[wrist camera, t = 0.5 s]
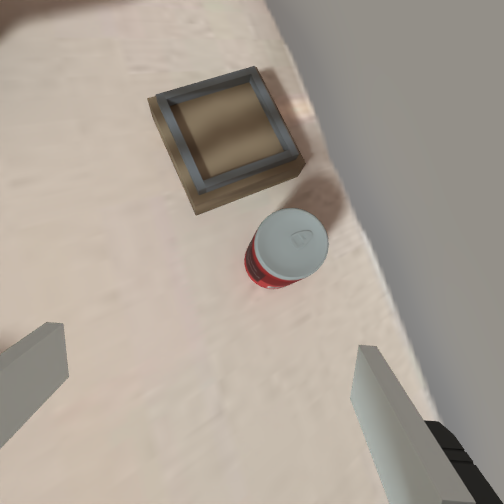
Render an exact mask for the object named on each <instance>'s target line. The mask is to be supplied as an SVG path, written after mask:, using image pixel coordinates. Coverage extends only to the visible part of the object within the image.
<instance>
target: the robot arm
mask: <svg viewBox="0 0 504 504" xmlns="http://www.w3.org/2000/svg"><path fill="white" fill-rule="evenodd" d="M68 377H69V373H68V364H67V354H66V344H65V335H64V325H63V323H50V322H46V323H45V324H43V325H42V326H40V327H39V328H37V329H36V330H35V331H33V332H32V333H30V334H29V335H27V336H26V337H24V338H23V339H22V340H20V341H19V342H17V343H16V344H14V345H13V346H11V347H10V348H9V349H7V350H6V351H4V352H3V353H1V354H0V449H1V448H2V447H3V445H4V444H5V443H6V442H7V441H8V440H9V439H10V438H11V437H12V436H13V435H14V434H15V433H16V432H17V431H18V430H19V429H20V428H21V427H22V426H23V424H24V423H25V422H26V421H27V420H28V419H29V418H30V417H31V416H32V415H33V414H34V413H35V412H36V411H37V410H38V409H39V408H40V407H41V406H42V405H43V403H44V402H45V401H46V400H47V399H48V398H49V397H50V396H51V395H52V394H53V393H54V392H55V391H56V390H57V389H58V388H59V387H60V386H61V385H62V384H63V382H64V381H65V380H66V379H67V378H68ZM350 399H351V402H352V405H353V407H354V410H355V413H356V415H357V418H358V421H359V423H360V426H361V429H362V431H363V434H364V437H365V439H366V442H367V445H368V447H369V450H370V453H371V455H372V458H373V461H374V463H375V466H376V469H377V472H378V474H379V477H380V480H381V482H382V485H383V488H384V490H385V493H386V496H387V498H388V501H389V504H503V503H502V501H501V500H500V499H499V497H498V496H497V494H496V493H495V492H494V490H493V489H492V487H491V486H490V484H489V483H488V482H487V481H486V479H485V478H484V476H483V475H482V473H481V472H480V471H479V469H478V468H477V466H476V465H474V464H473V461H472V459H471V458H470V457H469V455H468V454H467V452H465V451H464V448H463V447H462V445H461V444H460V443H459V441H458V440H457V438H456V437H455V436H454V435H453V434H452V433H451V432H450V431H449V430H448V429H447V428H445V427H444V426H443V425H442V424H441V423H440V422H437V421H425V420H423V419H422V417H421V415H420V414H419V412H418V411H417V409H416V408H415V406H414V404H413V403H412V401H411V400H410V398H409V397H408V395H407V393H406V392H405V390H404V389H403V387H402V386H401V384H400V382H399V381H398V379H397V378H396V376H395V375H394V373H393V371H392V370H391V368H390V367H389V365H388V364H387V362H386V360H385V359H384V357H383V356H382V354H381V353H380V351H379V349H378V348H377V346H366V345H359V347H358V353H357V359H356V365H355V372H354V378H353V384H352V390H351V396H350Z"/></svg>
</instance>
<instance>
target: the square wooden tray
mask: <svg viewBox="0 0 504 504" xmlns="http://www.w3.org/2000/svg"><path fill="white" fill-rule="evenodd" d="M147 99H148V103H149V106H150V110H151V113H152V117H153V119H154V122H155V124H156V126H157V128H158V131H159V133H160V135H161V138H162V140H163V142H164V144H165V147H166V149H167V151H168V153H169V156H170V158H171V160H172V162H173V165H174V167H175V169H176V172H177V174H178V176H179V178H180V181H181V183H182V185H183V187H184V190H185V192H186V194H187V196H188V199H189V201H190V203H191V205H192V208H193V210H194V212H195V215H199V214H201V213H204V212H207V211H209V210H212V209H214V208H217V207H220V206H222V205H225V204H227V203H230V202H233V201H235V200H238V199H240V198H243V197H246V196H248V195H251V194H253V193H256V192H259V191H261V190H264V189H267V188H269V187H272V186H274V185H277V184H280V183H282V182H285V181H287V180H290V179H293V178H295V177H298V175H299V173H300V172H301V170H302V169H303V167H304V165H305V164H306V163H305V161H304V159H303V157H302V155H301V153H300V151H299V149H298V147H297V145H296V144H295V142H294V140H293V138H292V136H291V134H290V132H289V130H288V128H287V126H286V124H285V122H284V120H283V118H282V116H281V114H280V112H279V110H278V108H277V106H276V104H275V102H274V100H273V98H272V96H271V94H270V93H269V91H268V89H267V87H266V85H265V83H264V81H263V79H262V77H261V75H260V73H259V71H258V69H257V67H255V66H253V67H249V68H246V69H242V70H239V71H235V72H232V73H229V74H225V75H222V76H218V77H215V78H211V79H208V80H204V81H201V82H198V83H194V84H191V85H187V86H184V87H180V88H177V89H173V90H170V91H167V92H163V93H160V94H156V96H154V97H151V98H147Z"/></svg>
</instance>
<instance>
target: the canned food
mask: <svg viewBox="0 0 504 504" xmlns="http://www.w3.org/2000/svg"><path fill="white" fill-rule="evenodd" d="M328 246H329V243H328V236H327V232H326V230H325V228H324V226H323V225H322V223H321V222H320V221H319V220H318V219H317V218H316V217H315V216H314V215H312V214H311V213H309V212H307V211H305V210H302V209H297V208H286V209H281V210H278V211H276V212H274V213H272V214H271V215H269V216H268V217H267V218H266V219H265V220H264V221H263V222H262V223H261V224H260V226H259V228H258V229H257V231H256V233H255V235H254V237H253V239H252V240H251V242H250V244H249V246H248V248H247V251H246V253H245V259H244V260H245V268H246V271H247V273H248V275H249V277H250V278H251V280H253V281H254V282H255V283H256V284H258V285H259V286H261V287H264V288H268V289H278V288H282V287H285V286H287V285H290V284H292V283H295V282H297V281H299V280H302V279H304V278H306V277H308V276H310V275H311V274H313V273H314V272H315V271H317V270H318V269H319V267H320V266H321V265H322V264H323V262H324V260H325V259H326V256H327V253H328Z"/></svg>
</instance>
